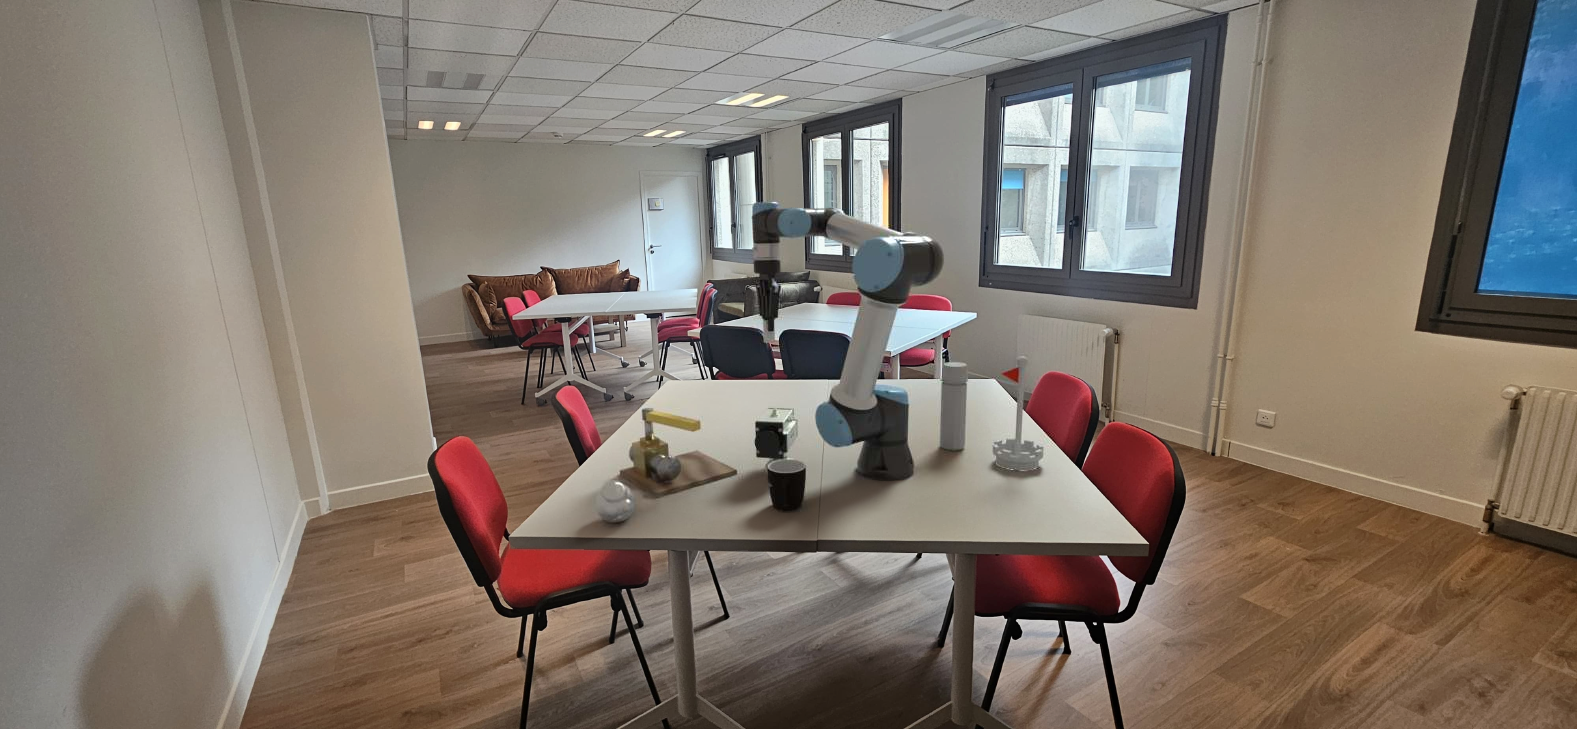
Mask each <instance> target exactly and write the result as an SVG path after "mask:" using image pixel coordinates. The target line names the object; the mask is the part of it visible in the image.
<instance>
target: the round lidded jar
mask: <svg viewBox="0 0 1577 729" xmlns="http://www.w3.org/2000/svg"><path fill="white" fill-rule="evenodd" d="M594 505H595V506H594V507H595V510H596V512H597V514H598V516H599V517H600V518H601V519H602V520H604V521H606V522H608V523H613V524H615V523H616V524H617V523H620V522H624V521H625V520H627V519H628V518H629V517H630V516H631V515H632V514H633V512H634V511H635V508H636V496H635V494H634V492H633V490H632V489H631V488H630V487H629V486H628V485H626V484H624V483H622V482H620V481H619V480H610V481H606V482H605V483H604V484H603V486H602V487H601V489H600V490H599V491H598V493H597V494H596V498H595V504H594Z"/></svg>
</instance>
